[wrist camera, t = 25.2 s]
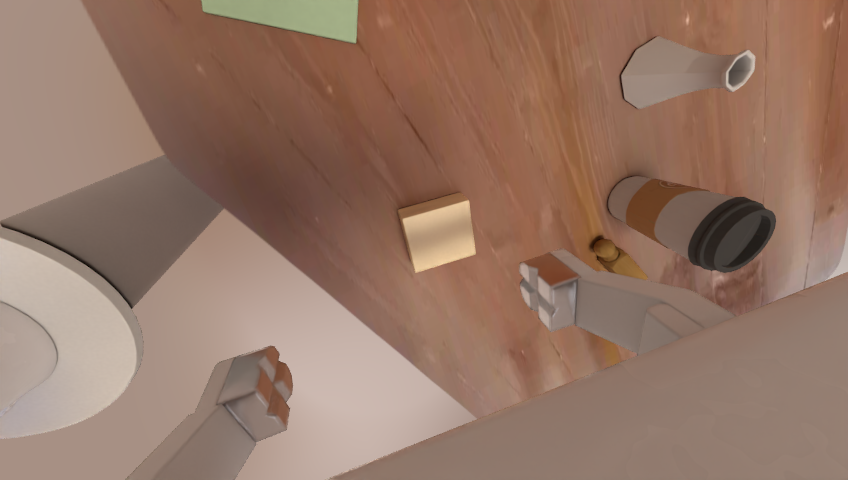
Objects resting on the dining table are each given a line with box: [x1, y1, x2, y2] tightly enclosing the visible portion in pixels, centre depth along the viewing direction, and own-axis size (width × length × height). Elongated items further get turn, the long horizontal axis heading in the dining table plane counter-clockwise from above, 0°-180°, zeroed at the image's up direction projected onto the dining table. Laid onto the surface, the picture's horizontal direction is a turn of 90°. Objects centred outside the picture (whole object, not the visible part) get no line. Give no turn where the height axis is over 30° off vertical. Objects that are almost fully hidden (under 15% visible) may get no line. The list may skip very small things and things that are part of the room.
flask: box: [621, 36, 755, 109], centre depth 32 cm, size 7×7×10 cm
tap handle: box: [594, 239, 648, 280], centre depth 52 cm, size 3×3×30 cm
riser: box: [398, 192, 476, 273], centre depth 38 cm, size 8×8×3 cm
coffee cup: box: [608, 176, 776, 273], centre depth 38 cm, size 8×8×15 cm
